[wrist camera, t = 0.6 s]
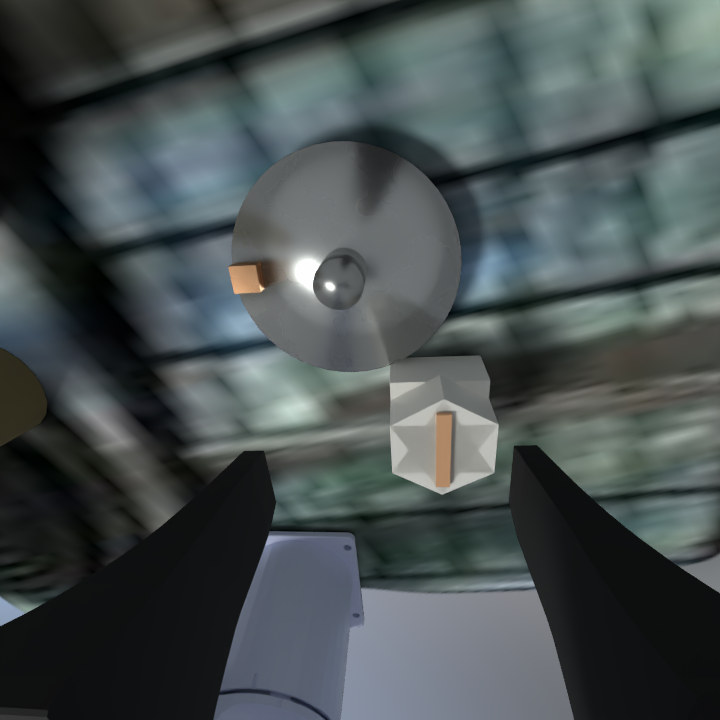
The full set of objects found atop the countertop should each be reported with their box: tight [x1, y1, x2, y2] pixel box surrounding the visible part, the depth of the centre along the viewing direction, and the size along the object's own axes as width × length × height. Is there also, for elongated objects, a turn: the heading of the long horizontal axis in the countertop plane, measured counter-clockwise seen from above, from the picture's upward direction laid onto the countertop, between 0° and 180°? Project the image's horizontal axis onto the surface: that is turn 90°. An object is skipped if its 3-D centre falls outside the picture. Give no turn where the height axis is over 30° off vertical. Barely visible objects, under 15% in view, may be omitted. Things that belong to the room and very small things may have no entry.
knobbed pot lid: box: [229, 141, 462, 372], centre depth 17 cm, size 10×10×3 cm
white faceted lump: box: [390, 355, 499, 495], centre depth 20 cm, size 5×4×5 cm
